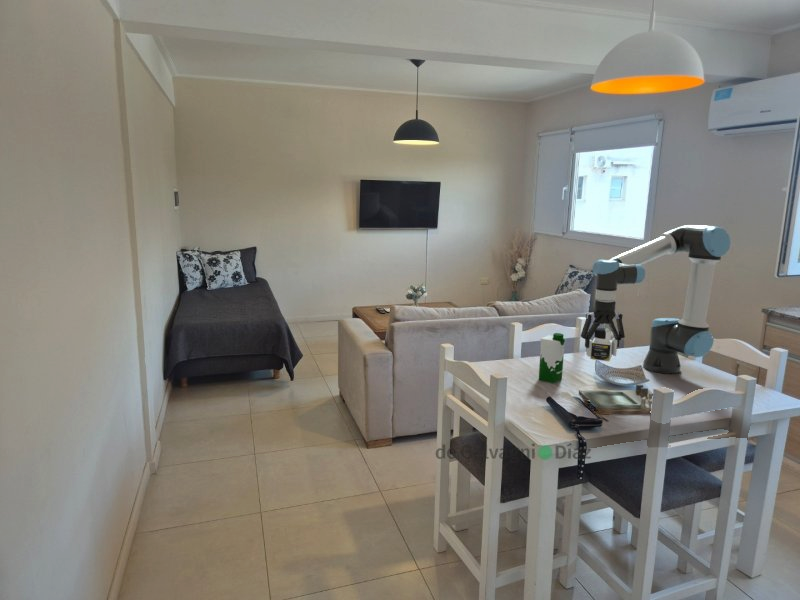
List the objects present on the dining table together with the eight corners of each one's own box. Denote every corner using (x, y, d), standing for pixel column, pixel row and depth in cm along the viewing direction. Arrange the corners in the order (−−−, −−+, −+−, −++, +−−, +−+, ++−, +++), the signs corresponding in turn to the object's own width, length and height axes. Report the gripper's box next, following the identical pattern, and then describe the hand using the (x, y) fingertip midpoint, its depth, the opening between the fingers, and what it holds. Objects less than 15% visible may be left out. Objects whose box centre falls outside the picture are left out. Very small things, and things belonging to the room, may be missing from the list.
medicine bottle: (590, 359, 214) (592, 329, 211) (593, 354, 220) (595, 325, 217) (609, 361, 210) (611, 332, 208) (611, 357, 217) (613, 327, 214)
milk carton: (555, 384, 220) (559, 337, 216) (535, 379, 226) (538, 333, 222) (564, 379, 227) (568, 333, 223) (544, 374, 232) (547, 329, 228)
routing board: (648, 393, 213) (649, 382, 212) (676, 413, 193) (678, 401, 192) (578, 393, 211) (579, 382, 210) (600, 413, 191) (601, 402, 190)
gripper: (628, 297, 215) (623, 351, 219) (573, 298, 213) (570, 353, 218) (637, 301, 207) (632, 357, 212) (581, 302, 206) (577, 358, 211)
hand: (601, 355), depth 215 cm, fingers closed on medicine bottle, 9 cm apart
